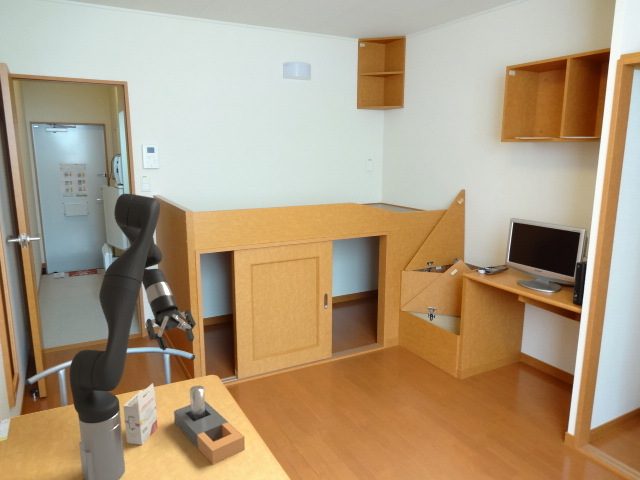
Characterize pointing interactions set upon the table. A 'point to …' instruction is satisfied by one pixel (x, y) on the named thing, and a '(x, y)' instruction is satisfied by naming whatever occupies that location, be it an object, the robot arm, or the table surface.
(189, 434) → the socket block
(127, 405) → the ink cartridge box
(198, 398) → the silver metal cylinder
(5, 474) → the table surface
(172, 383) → the table surface
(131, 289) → the robot arm
